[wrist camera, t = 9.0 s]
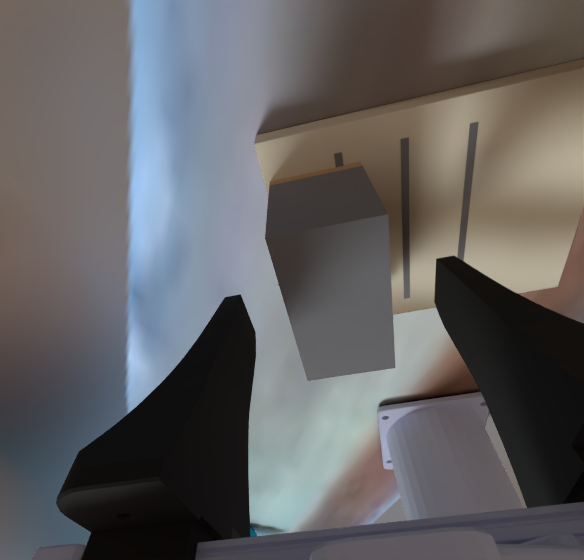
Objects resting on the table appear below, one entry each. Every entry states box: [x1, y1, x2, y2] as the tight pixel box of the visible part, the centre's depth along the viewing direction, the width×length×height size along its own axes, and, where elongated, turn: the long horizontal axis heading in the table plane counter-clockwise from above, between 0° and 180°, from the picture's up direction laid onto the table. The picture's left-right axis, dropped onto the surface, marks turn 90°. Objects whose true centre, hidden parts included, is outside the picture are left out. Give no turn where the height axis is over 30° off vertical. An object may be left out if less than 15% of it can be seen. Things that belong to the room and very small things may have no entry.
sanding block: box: [265, 162, 395, 381], centre depth 14 cm, size 7×4×4 cm, turn 12°
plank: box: [254, 59, 584, 315], centre depth 16 cm, size 10×13×1 cm
